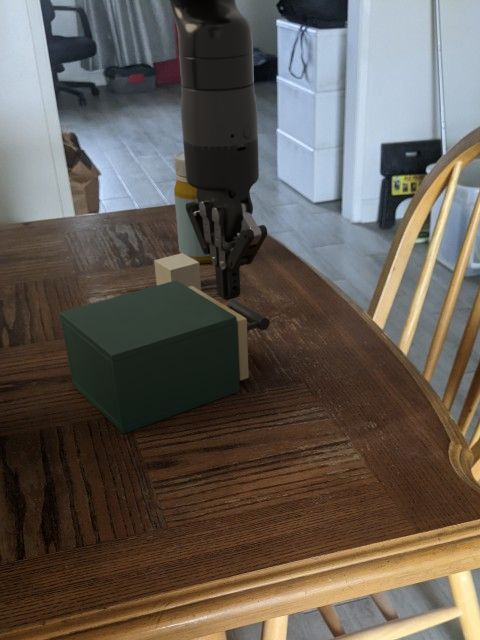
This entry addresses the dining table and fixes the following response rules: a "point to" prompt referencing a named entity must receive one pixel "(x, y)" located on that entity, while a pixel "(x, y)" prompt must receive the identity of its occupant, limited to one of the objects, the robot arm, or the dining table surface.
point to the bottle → (184, 227)
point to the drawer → (241, 327)
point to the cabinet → (151, 353)
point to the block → (178, 270)
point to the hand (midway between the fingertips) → (228, 296)
